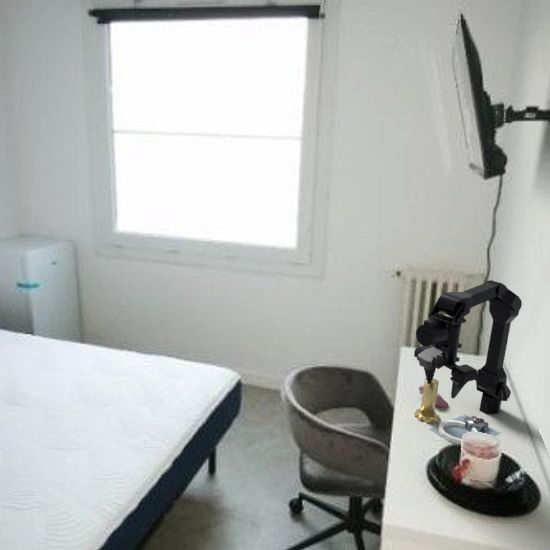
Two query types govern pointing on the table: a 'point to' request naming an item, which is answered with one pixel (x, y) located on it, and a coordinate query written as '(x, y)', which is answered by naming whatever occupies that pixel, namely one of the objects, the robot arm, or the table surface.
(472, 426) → the fixed gear
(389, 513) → the table surface
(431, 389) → the brass gear
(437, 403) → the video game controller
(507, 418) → the table surface
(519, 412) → the table surface
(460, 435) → the gear board
